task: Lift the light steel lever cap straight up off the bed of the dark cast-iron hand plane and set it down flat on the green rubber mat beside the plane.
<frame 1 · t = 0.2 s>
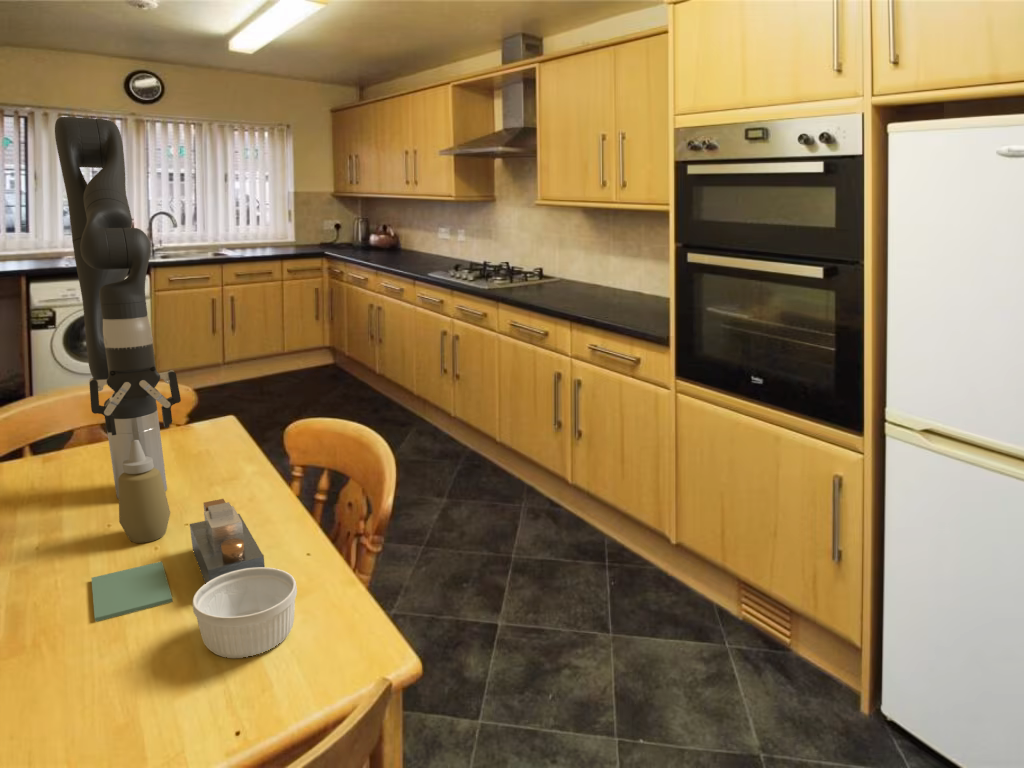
hand: (140, 430, 127), 17 cm above the table, tool pointing down, fingers open, 8 cm apart
ramekin: (250, 636, 96), on the table
mat: (131, 591, 107), on the table
plane body: (227, 567, 114), on the table
squeeze bottle: (147, 537, 124), on the table
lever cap: (225, 539, 113), point 5 cm above the table, touching plane body
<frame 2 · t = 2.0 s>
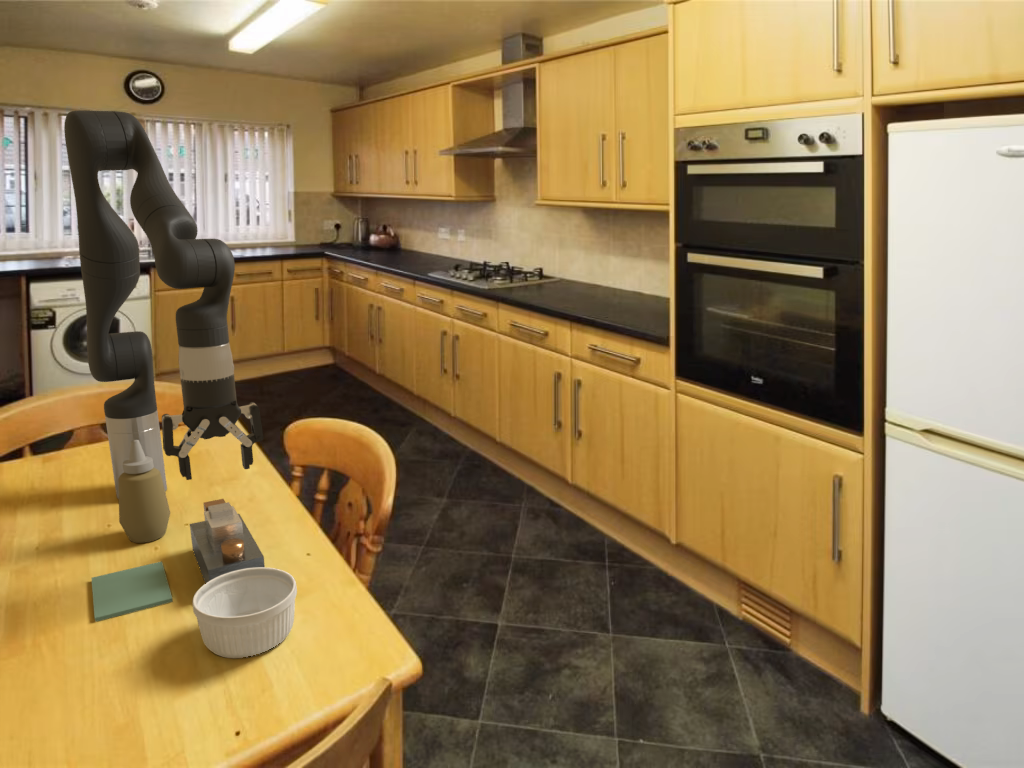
hand: (217, 473, 110), 17 cm above the table, tool pointing down, fingers open, 8 cm apart
nothing on the table moved.
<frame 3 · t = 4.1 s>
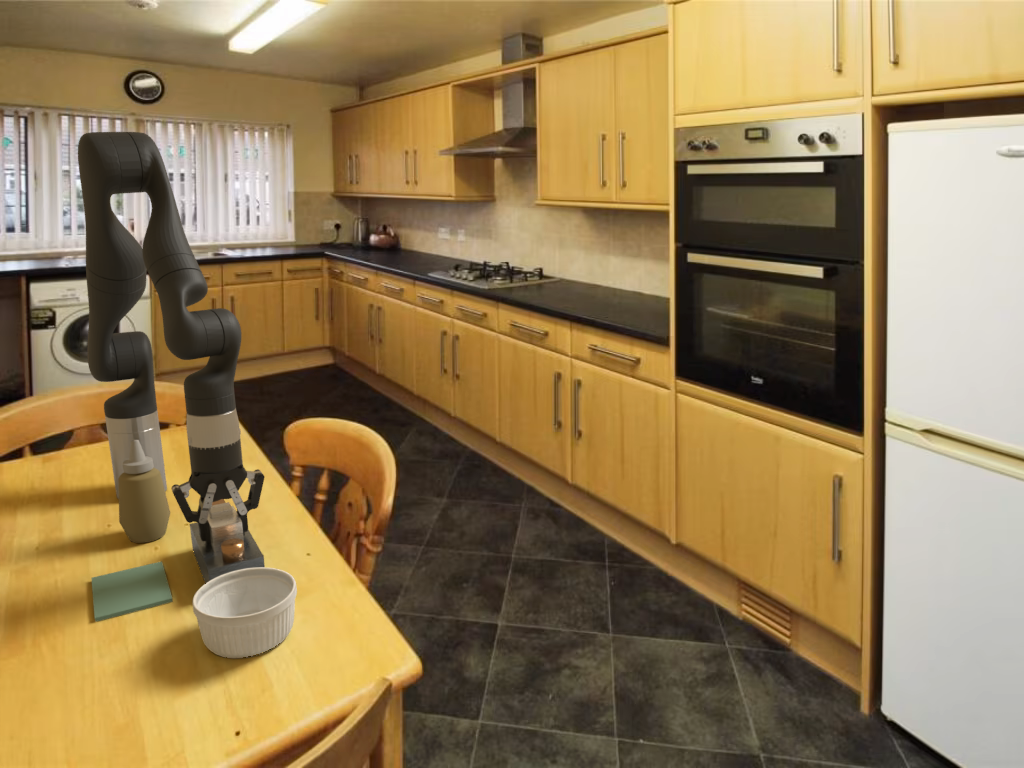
hand: (224, 537, 113), 5 cm above the table, tool pointing down, fingers closed on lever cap, 4 cm apart
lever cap: (225, 539, 113), point 5 cm above the table, touching gripper, plane body
everything else where it was.
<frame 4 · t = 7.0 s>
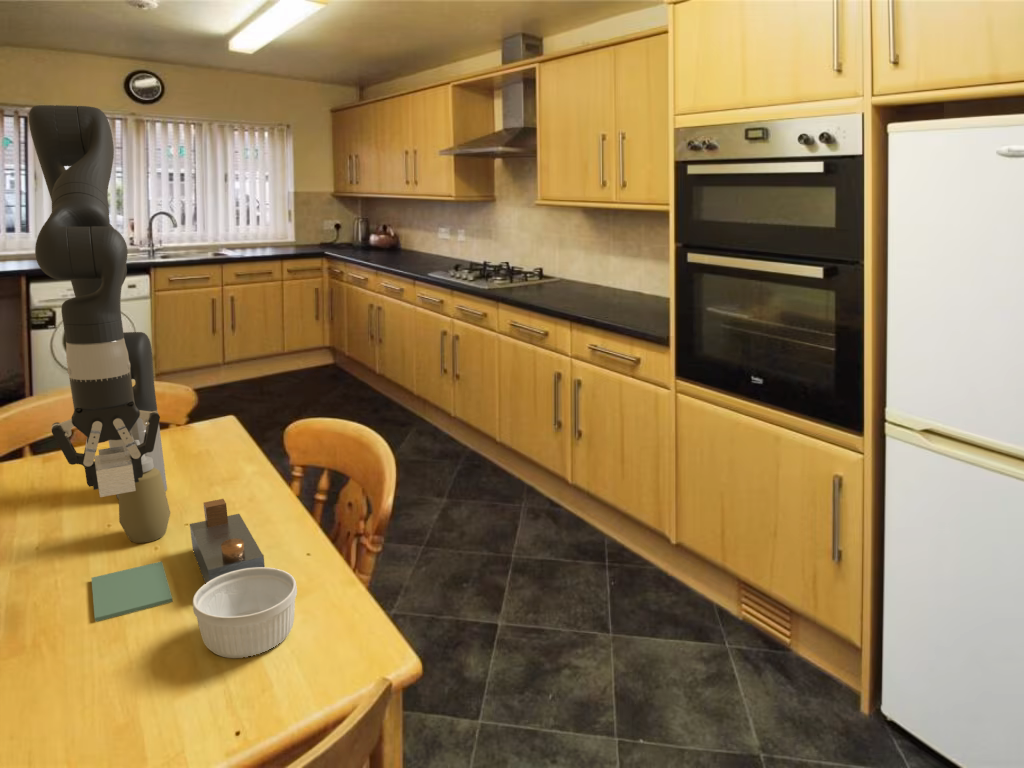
hand: (115, 483, 102), 18 cm above the table, tool pointing down, fingers closed on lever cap, 4 cm apart
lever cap: (116, 485, 102), point 17 cm above the table, touching gripper
everything else where it was.
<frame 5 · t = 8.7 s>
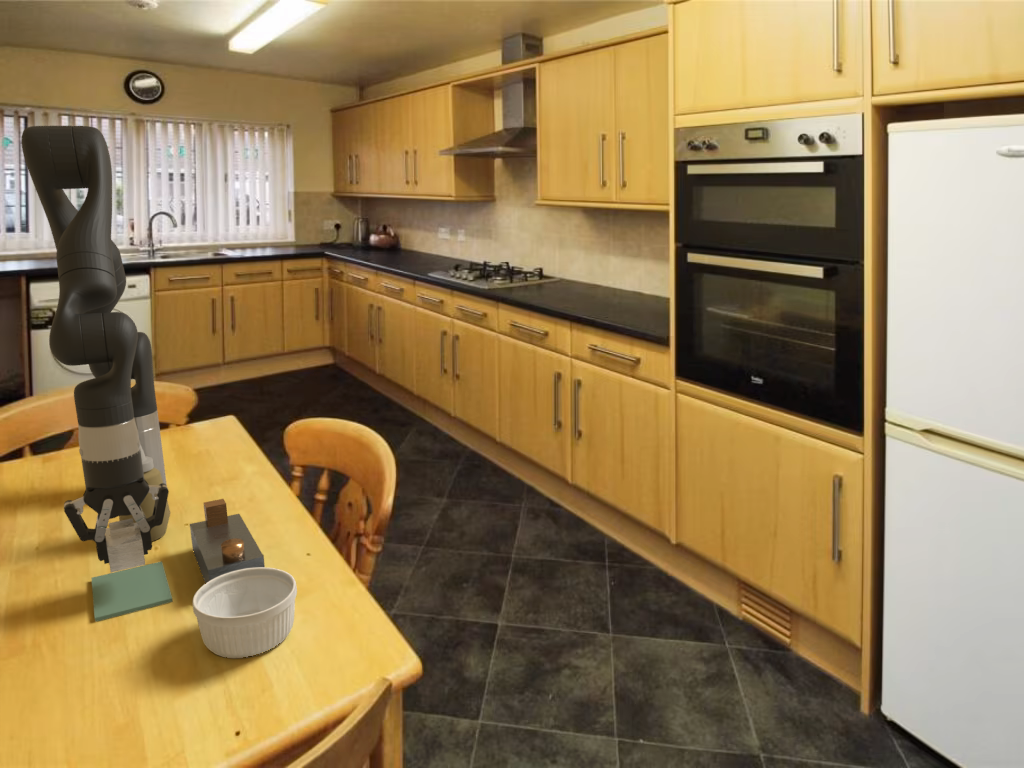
hand: (125, 556, 105), 6 cm above the table, tool pointing down, fingers closed on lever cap, 4 cm apart
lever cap: (126, 558, 105), point 6 cm above the table, touching gripper
everything else where it was.
when the fingers open (2 cm above the table, at t = 10.2 s): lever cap drops 1 cm, resting on mat.
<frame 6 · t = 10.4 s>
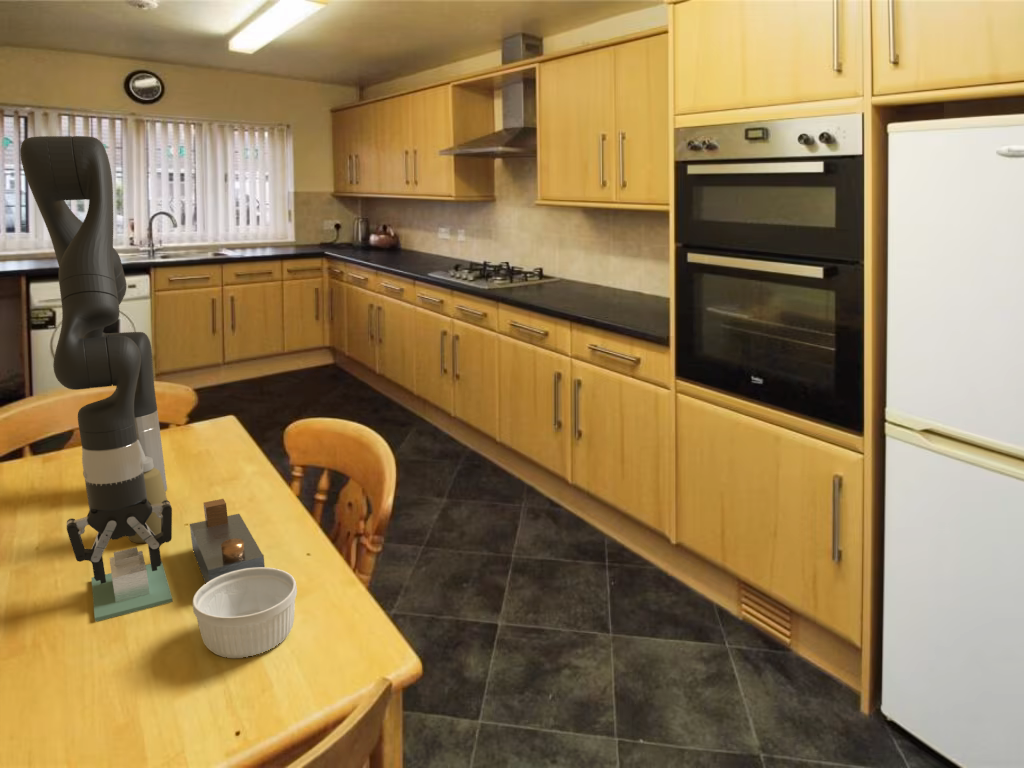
hand: (128, 574, 106), 3 cm above the table, tool pointing down, fingers open, 6 cm apart
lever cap: (131, 587, 107), point 1 cm above the table, touching mat
everything else where it was.
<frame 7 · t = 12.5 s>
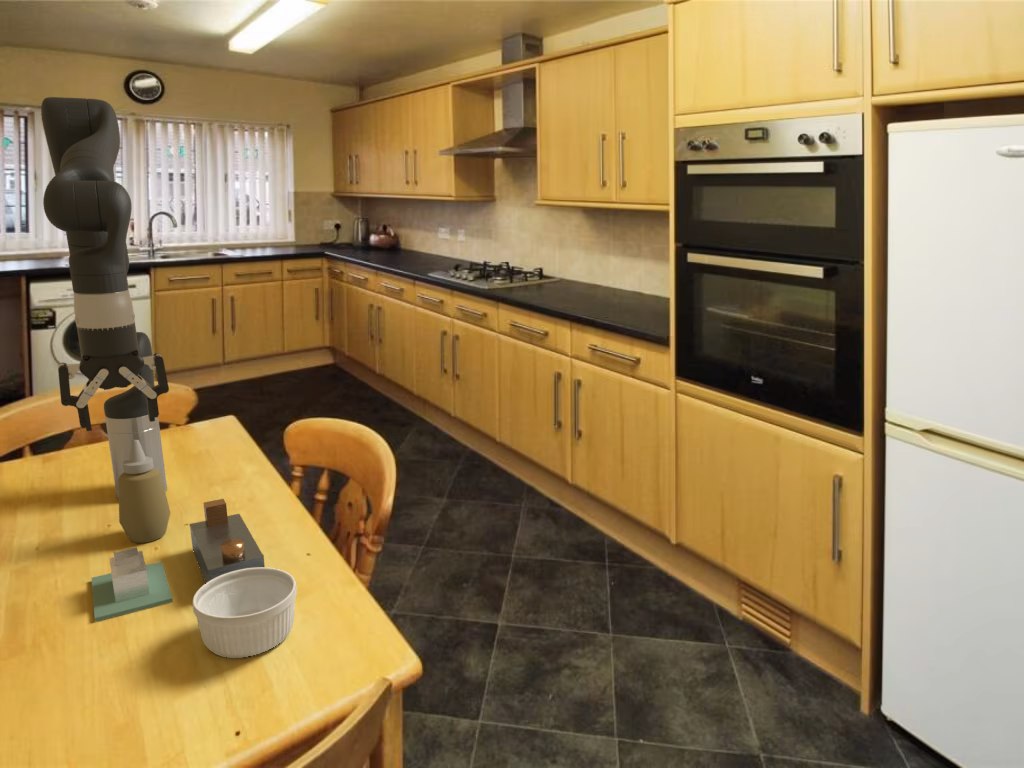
hand: (121, 424, 107), 25 cm above the table, tool pointing down, fingers open, 8 cm apart
nothing on the table moved.
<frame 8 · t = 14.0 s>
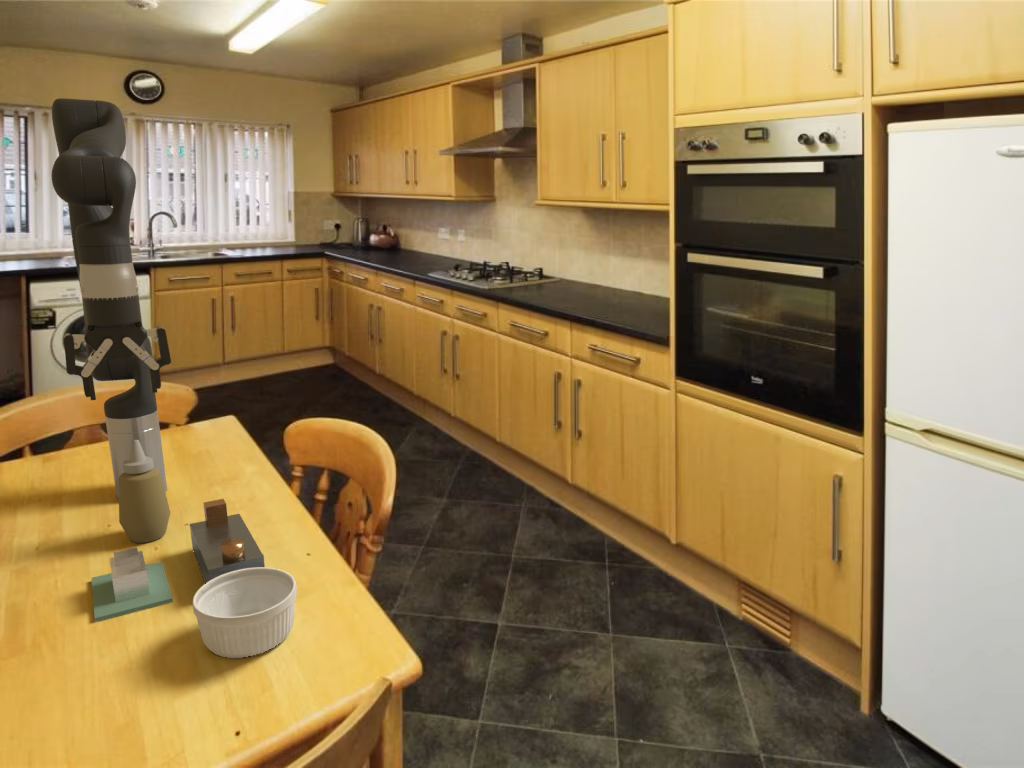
hand: (124, 395, 110), 28 cm above the table, tool pointing down, fingers open, 8 cm apart
nothing on the table moved.
at the end: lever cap inside the target area on the mat (0.0 cm from its centre), point 0.6 cm above the mat's base; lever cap tilted 0°; the gripper is holding nothing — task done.
